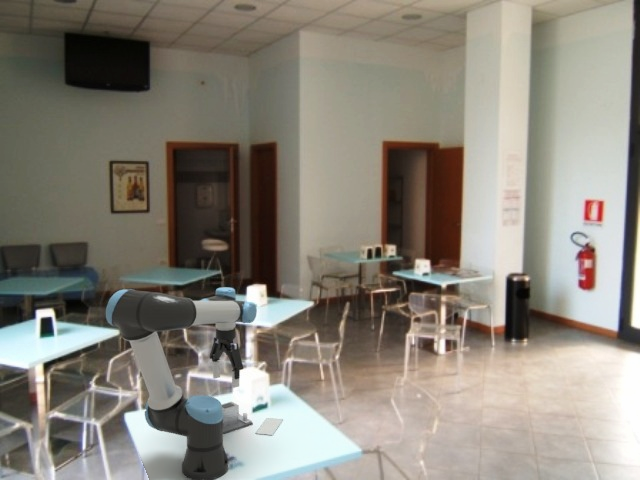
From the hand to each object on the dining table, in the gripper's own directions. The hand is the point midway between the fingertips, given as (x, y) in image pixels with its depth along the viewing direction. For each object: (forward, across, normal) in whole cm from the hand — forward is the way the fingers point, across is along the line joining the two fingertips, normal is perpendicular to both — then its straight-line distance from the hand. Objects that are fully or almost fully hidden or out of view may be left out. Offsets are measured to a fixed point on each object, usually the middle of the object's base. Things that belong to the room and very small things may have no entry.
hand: (226, 382), depth 225 cm
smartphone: (+18, -12, -12) cm, 25 cm away
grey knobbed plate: (+17, 0, 0) cm, 17 cm away
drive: (+16, 0, -1) cm, 17 cm away
